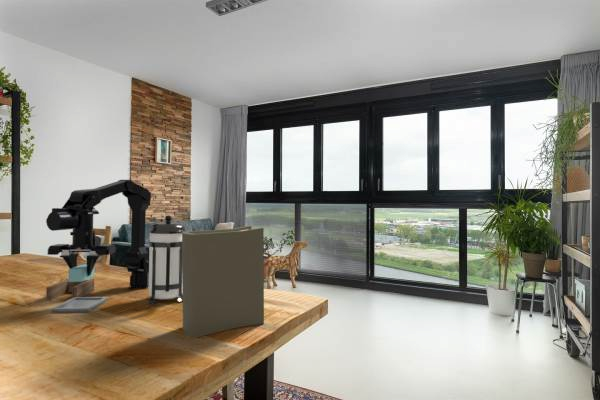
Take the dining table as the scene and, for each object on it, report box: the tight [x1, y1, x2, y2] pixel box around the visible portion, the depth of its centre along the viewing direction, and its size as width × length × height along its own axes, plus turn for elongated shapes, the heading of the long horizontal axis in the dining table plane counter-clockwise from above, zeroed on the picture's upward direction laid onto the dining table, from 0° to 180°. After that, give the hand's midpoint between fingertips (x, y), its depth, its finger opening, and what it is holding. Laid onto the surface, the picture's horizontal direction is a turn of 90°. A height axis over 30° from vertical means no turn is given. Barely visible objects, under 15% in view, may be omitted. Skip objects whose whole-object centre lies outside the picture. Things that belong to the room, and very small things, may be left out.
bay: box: [45, 278, 95, 301], centre depth 125 cm, size 10×12×4 cm
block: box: [67, 263, 95, 282], centre depth 113 cm, size 4×4×8 cm
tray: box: [50, 296, 109, 313], centre depth 113 cm, size 11×13×1 cm
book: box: [182, 225, 265, 339], centre depth 98 cm, size 22×9×28 cm, turn 124°
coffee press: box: [148, 215, 188, 305], centre depth 122 cm, size 17×16×30 cm
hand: (82, 275), depth 113 cm, fingers closed on block, 4 cm apart
